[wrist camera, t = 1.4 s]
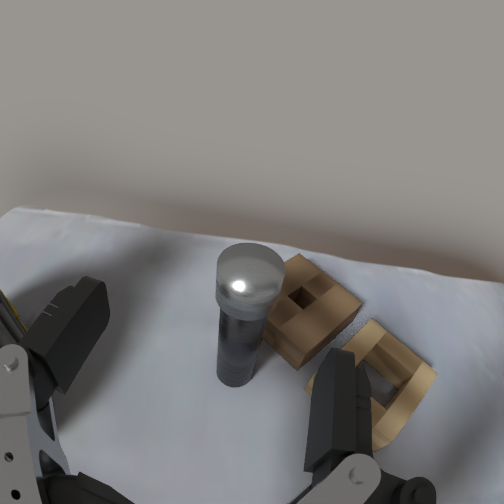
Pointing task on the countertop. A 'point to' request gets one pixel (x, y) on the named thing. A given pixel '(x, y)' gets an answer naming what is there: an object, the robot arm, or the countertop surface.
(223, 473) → the countertop surface
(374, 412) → the oak block
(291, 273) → the walnut block
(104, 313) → the robot arm
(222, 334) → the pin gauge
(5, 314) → the decorative lamp
